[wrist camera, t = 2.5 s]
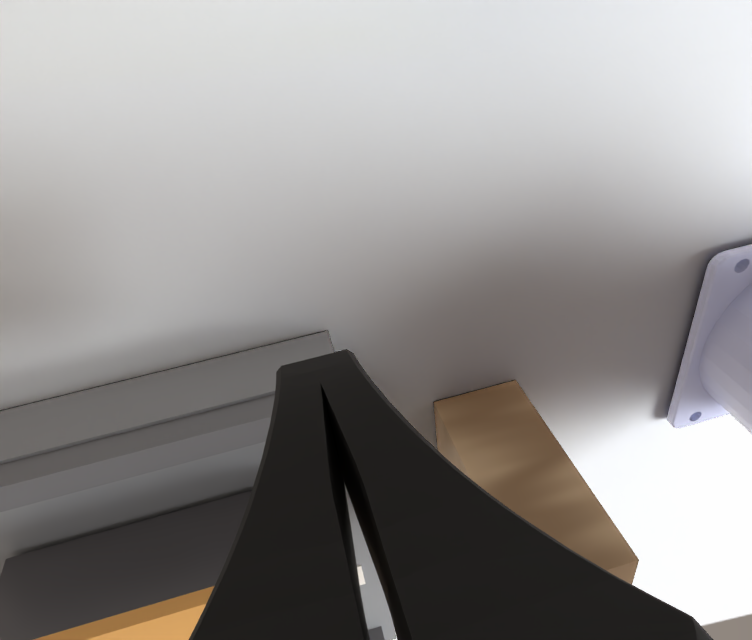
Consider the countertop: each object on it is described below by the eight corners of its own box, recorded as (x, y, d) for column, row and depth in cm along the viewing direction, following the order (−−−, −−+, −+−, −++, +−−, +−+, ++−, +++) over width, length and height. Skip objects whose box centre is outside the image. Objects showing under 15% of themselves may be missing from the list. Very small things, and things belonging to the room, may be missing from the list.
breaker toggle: (326, 470, 17) (347, 561, 14) (339, 518, 18) (360, 609, 16) (5, 558, 15) (-32, 674, 13) (46, 603, 17) (20, 714, 14)
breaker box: (328, 330, 17) (347, 393, 14) (384, 593, 25) (401, 658, 23) (-73, 428, 15) (-121, 515, 13) (135, 670, 24) (128, 747, 22)
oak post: (515, 380, 20) (638, 559, 14) (513, 438, 21) (622, 618, 16) (433, 401, 19) (526, 595, 14) (438, 459, 21) (522, 652, 15)
